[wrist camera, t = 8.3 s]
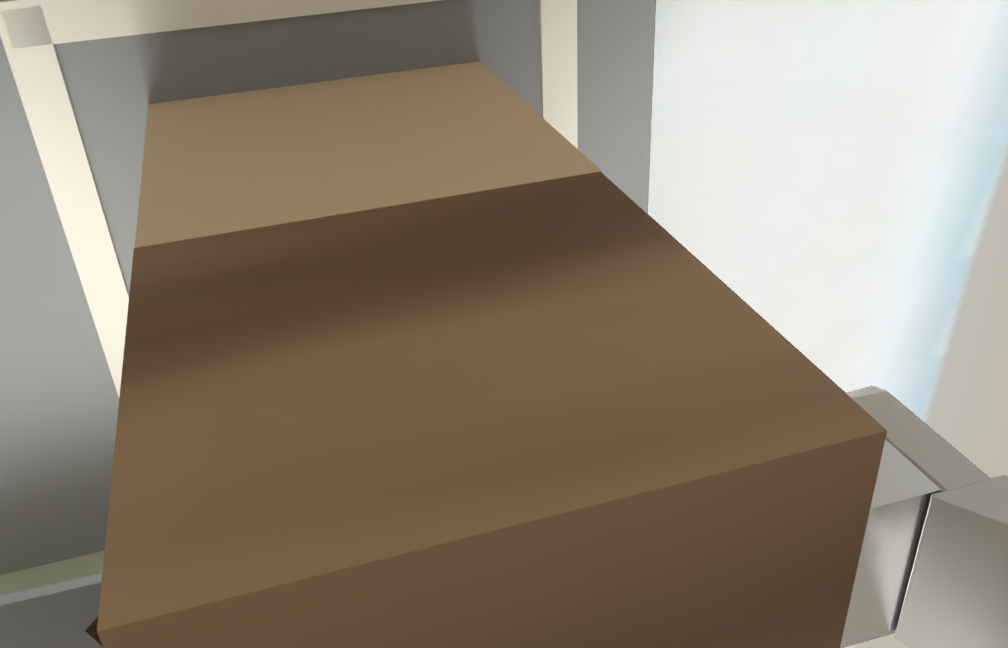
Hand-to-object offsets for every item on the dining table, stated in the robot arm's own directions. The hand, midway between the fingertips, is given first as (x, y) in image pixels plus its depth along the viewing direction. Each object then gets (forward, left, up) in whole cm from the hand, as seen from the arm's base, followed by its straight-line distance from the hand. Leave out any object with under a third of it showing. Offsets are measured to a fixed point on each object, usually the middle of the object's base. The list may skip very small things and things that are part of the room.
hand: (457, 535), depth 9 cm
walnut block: (0, 0, -2) cm, 3 cm away
